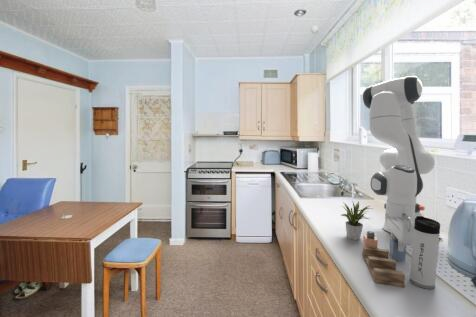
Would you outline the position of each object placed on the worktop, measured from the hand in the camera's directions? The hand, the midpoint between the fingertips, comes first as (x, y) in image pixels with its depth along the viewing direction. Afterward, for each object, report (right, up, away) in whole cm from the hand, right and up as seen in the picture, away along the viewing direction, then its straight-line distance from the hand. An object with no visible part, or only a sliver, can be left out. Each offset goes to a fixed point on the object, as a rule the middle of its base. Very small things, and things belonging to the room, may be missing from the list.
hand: (397, 246), depth 94 cm
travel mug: (-3, -6, -16) cm, 17 cm away
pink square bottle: (-8, -4, +4) cm, 10 cm away
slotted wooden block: (-11, -5, -9) cm, 15 cm away
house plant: (-8, -3, +17) cm, 19 cm away
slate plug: (0, -4, 0) cm, 4 cm away
